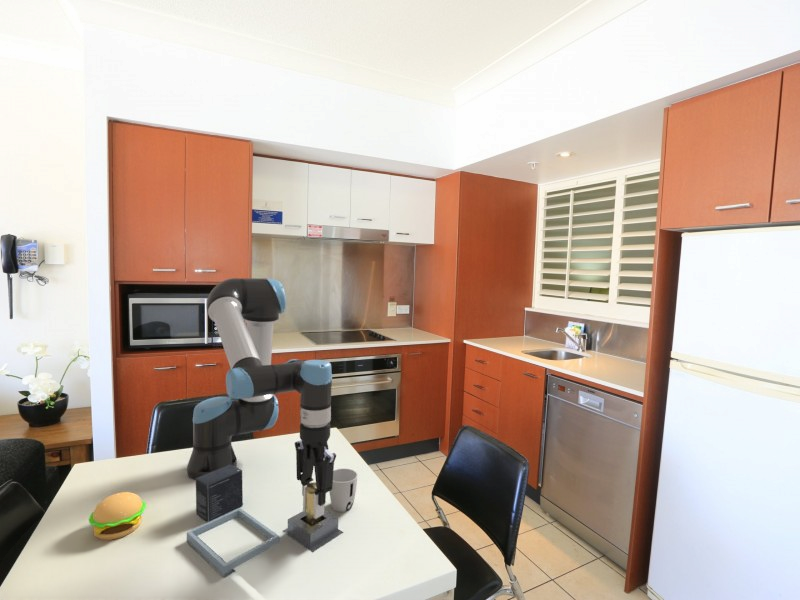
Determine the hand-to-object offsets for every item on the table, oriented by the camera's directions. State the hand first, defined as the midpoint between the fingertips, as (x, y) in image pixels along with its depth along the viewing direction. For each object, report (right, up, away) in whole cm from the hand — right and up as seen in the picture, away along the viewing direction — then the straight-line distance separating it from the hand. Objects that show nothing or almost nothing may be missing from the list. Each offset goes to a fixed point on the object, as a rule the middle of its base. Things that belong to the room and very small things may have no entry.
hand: (313, 512), depth 104 cm
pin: (0, -5, 0) cm, 5 cm away
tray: (-19, -6, -4) cm, 20 cm away
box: (-28, -5, +10) cm, 30 cm away
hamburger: (-50, -5, 0) cm, 50 cm away
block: (0, -6, 0) cm, 6 cm away
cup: (+6, -6, +12) cm, 15 cm away
